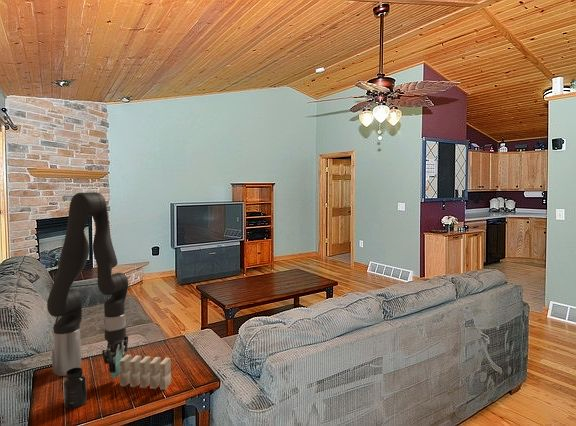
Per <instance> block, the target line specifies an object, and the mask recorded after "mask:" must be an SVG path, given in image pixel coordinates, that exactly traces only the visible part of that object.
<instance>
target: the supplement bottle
mask: <svg viewBox="0 0 576 426" xmlns="http://www.w3.org/2000/svg"><path fill="white" fill-rule="evenodd" d="M83 373H84V372H83V368H82V367H81V368H72V369H70V370H68V371H67V372H66V378H65V379H64V381H63V383H62V384H63V399H64V401H63V402H64V406H65V408H67V409H71V410H72V409H76V408H80V407H82V406H83V405H85V403H87V401H88V400H87V399H88V397H87V395H88V393H87V392H88V391H87V378H86V376H85V375H84V374H83Z"/></svg>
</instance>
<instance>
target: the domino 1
mask: <svg viewBox="0 0 576 426" xmlns="http://www.w3.org/2000/svg"><path fill="white" fill-rule="evenodd" d="M111 354H112V355H114V354H115V352H114V353H111ZM122 358H123V354H122V351H121V349H120V350H119V351H118V355H117V357H116V360H115V363H116V371H115V372H114V373H110V378H112V379H113V378H114V379H116V378H118V377H119V376H120V360H121V359H122ZM112 360H113V357H112Z"/></svg>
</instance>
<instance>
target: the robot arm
mask: <svg viewBox="0 0 576 426" xmlns="http://www.w3.org/2000/svg"><path fill="white" fill-rule="evenodd" d="M90 217H92V219H93V221H94V227H95V231H94V236H93V242H92V252H93V256H94V259H95V263H96V265H97V271H96V272H97V288H98V291H99V292H100V293H101V294H102V295H104V296H110V295H111V296H110V297H108V299H106V300H105V302H104V305H103V310H104V317H103V325H104V326H103V328H104V331H103V334H104V340H105V341H106V342H107V345H106V348H105V349H102V350H101V354H102V358H103V363H104V364H105V365H108V372H109V373H110V374H111V373H114V372H115V371H116V363H115V360H116V357H117V355H118V351H119V350H120V349H121V351H122V354H123V357H125V355H126V354H125V353H127V351H128V346H129V345H128V344H129V335H128V336H127V321H126V320H127V319H126V313H125V312H126V311H125V310H126V308H125V301H126V299H127V298H126V297H127V294H128V289H129V280H128V279H129V278H128V277H127V275H126V274H125V273H123V272H115V273H112V272H113V271H112V270H113V269H114V268H115V267H116V266H117V265H118V259H117V255H116V252H115V249H114V246H113V242H112V237H111V230H110V229H111V228H110V221H109V213H108V206H107V201H106V199H105V197H104V196H103V194H101V193H100V192H97V191H96V192H92V191H91V192H90V191H89V192H77V193H75V194H74V195H73V196H72V198H71V200H70V202H69V208H68V218H67V225H66V230H65V236H64V240H63V246H62V249H61V252H60V253H61V254H60V257H59V261H58V262H59V263H58V267H57V271H56V275H55V277H54V282H53V283H52V287H51V290H50V292H49V295H48V298H47V302H46V303H47V304H46V308H47V309H46V310H47V312H48V313H49V315H50V316H52V317H55V318H57V317H60V318H59V319H58V320H57V321H56V322H55V323H54V324H53V327H52V328H53V331H52V332H53V349H52V350H51V361H52V363H51V364H52V372H53V374H54V375H57V376H59V377H62V376H63V377H65V376H66V372H67V371H68V370H70V369H72V368H81V369H82V352H81V351H82V350H81V348H82V347H81V345H82V344H81V322H82V317H83V316H82V315H83V314H82V313H83V299H82V296H81V293H80V291H78V290H77V289H75V288H71V286H72V285H73V283H74V282H75V281H76V280H77V278H78V277H79V276H80V275H81V273H82V271H83V270H84V268H85V267H86V264H87V263H88V258H89V254H90V245H89V242H88V239H87V236H86V234H85V226H86V221H87V218H90ZM114 352H115V354H114V355H112V354H111V353H114ZM112 357H113V360H112Z"/></svg>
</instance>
